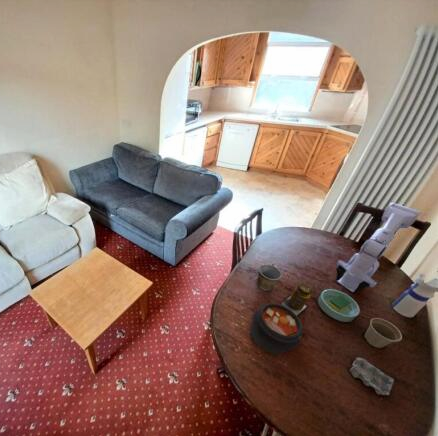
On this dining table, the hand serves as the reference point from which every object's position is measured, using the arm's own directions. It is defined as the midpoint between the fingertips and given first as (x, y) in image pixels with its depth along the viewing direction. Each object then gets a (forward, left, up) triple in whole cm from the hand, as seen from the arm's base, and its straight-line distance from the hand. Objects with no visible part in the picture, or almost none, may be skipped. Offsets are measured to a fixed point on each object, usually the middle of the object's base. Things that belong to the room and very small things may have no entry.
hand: (346, 285), depth 107 cm
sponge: (+6, +3, -9) cm, 11 cm away
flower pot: (+7, +19, -10) cm, 22 cm away
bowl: (+6, +3, -9) cm, 12 cm away
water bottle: (-21, +16, -10) cm, 28 cm away
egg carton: (+24, +26, -10) cm, 37 cm away
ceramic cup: (+24, -21, -10) cm, 33 cm away
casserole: (+40, -1, -10) cm, 41 cm away
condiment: (+22, -6, -10) cm, 25 cm away
